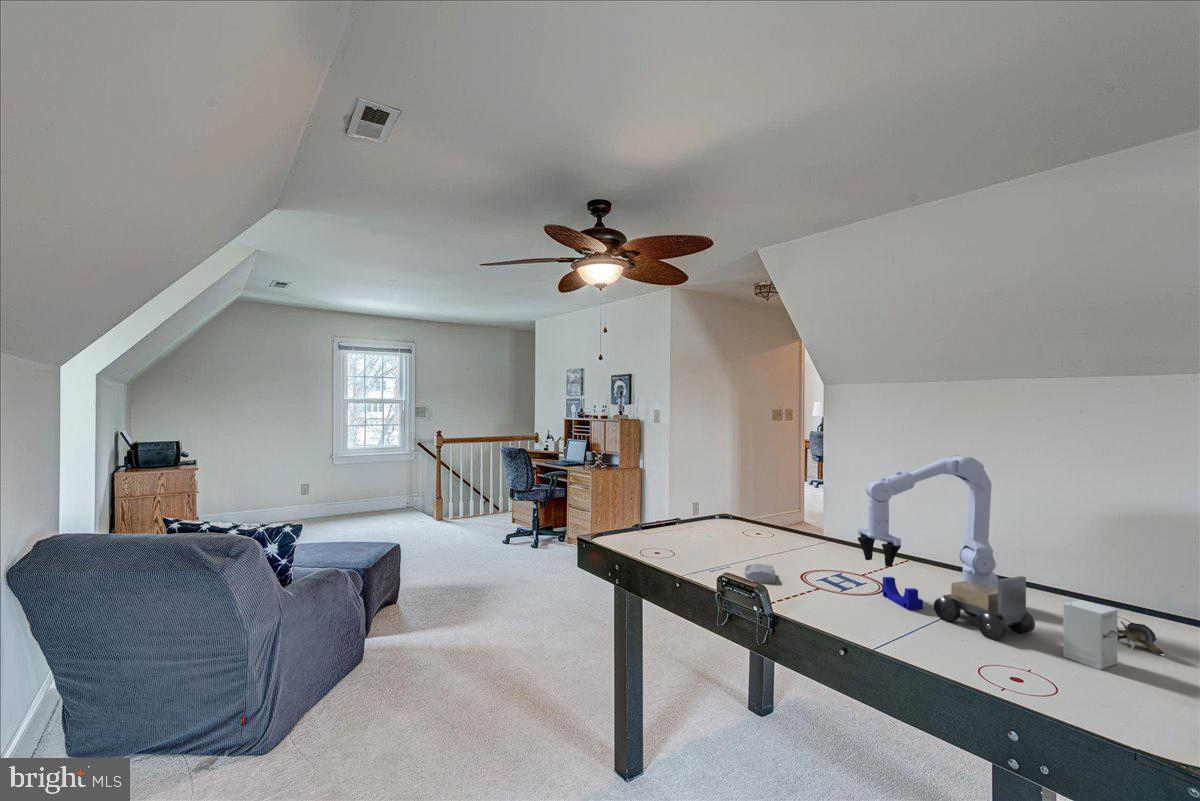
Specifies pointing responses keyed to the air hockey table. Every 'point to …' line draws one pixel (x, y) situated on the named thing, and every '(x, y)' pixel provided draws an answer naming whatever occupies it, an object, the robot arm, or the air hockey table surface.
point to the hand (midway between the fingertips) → (878, 563)
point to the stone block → (760, 573)
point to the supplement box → (1090, 634)
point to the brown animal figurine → (1139, 636)
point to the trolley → (989, 606)
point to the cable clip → (907, 601)
